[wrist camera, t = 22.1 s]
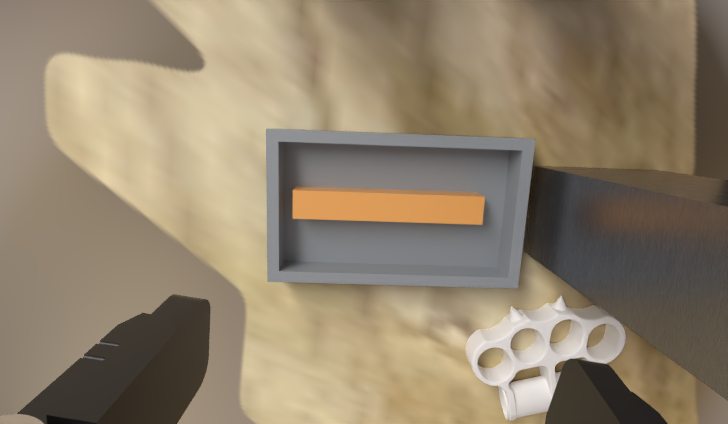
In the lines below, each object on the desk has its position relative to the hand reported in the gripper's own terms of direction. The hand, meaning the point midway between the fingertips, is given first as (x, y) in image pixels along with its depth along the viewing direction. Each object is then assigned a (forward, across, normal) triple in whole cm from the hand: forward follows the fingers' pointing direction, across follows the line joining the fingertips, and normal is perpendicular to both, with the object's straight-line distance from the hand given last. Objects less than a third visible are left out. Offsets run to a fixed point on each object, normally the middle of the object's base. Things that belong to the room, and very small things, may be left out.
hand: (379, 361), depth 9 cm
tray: (+37, -2, +7) cm, 38 cm away
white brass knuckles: (+38, -23, +22) cm, 49 cm away
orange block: (+36, -1, +6) cm, 37 cm away
